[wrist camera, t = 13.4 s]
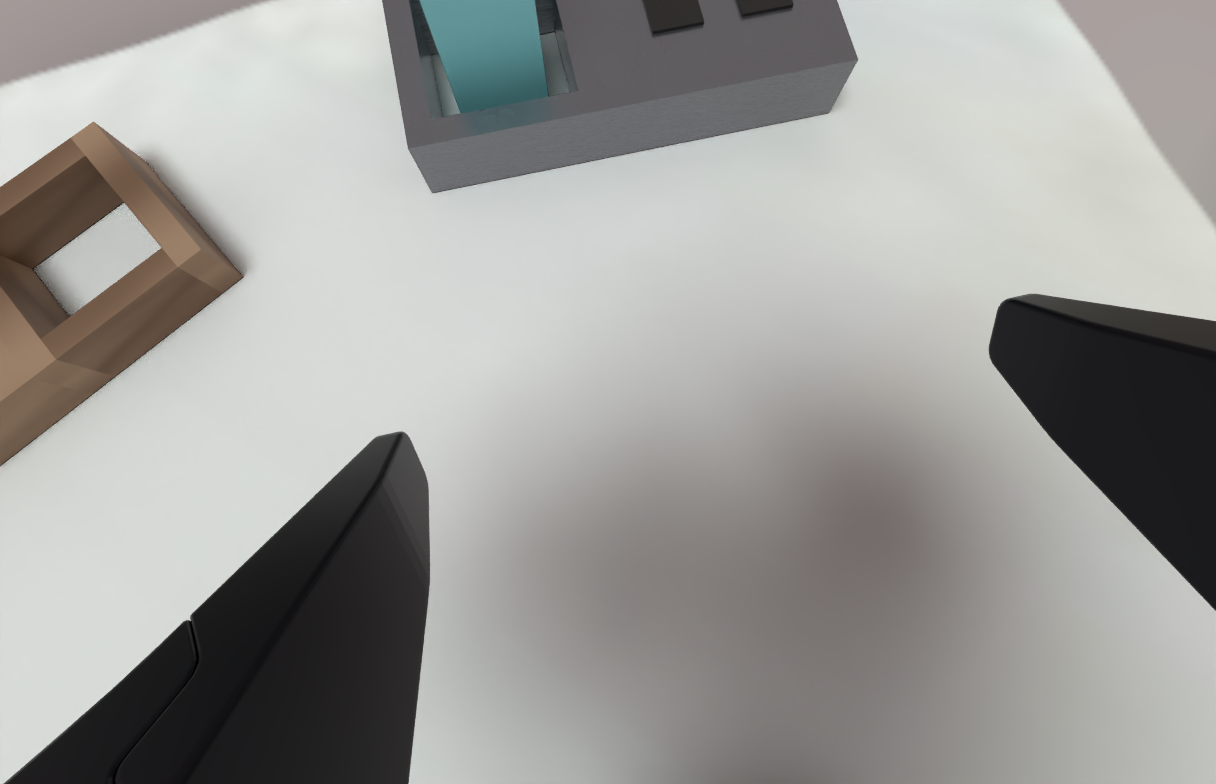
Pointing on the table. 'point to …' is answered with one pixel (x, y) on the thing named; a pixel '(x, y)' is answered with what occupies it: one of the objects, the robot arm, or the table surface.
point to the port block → (627, 82)
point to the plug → (488, 50)
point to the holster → (117, 318)
